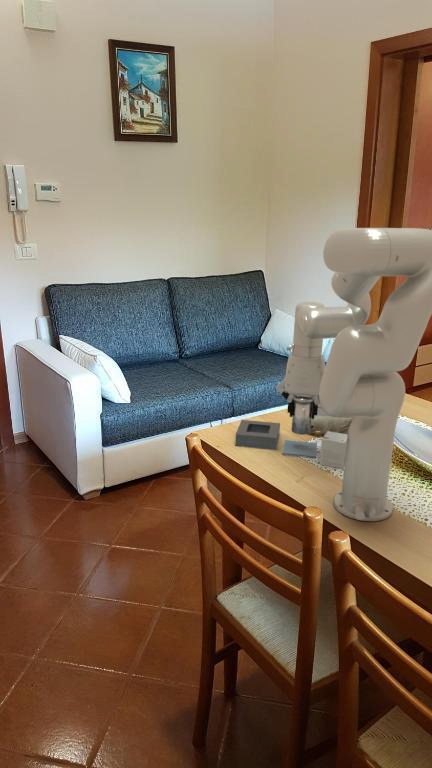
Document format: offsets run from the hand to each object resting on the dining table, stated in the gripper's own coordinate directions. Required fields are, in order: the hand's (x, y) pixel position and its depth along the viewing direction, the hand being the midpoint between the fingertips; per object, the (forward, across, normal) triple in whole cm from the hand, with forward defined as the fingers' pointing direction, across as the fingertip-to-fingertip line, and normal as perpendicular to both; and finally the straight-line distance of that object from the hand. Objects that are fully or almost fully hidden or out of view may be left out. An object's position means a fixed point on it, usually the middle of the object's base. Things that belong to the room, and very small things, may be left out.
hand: (302, 415), depth 150 cm
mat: (+10, 0, 0) cm, 10 cm away
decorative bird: (+10, +10, +11) cm, 18 cm away
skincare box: (+10, +9, -6) cm, 15 cm away
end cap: (+4, 0, 0) cm, 4 cm away
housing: (+10, -12, +4) cm, 16 cm away
